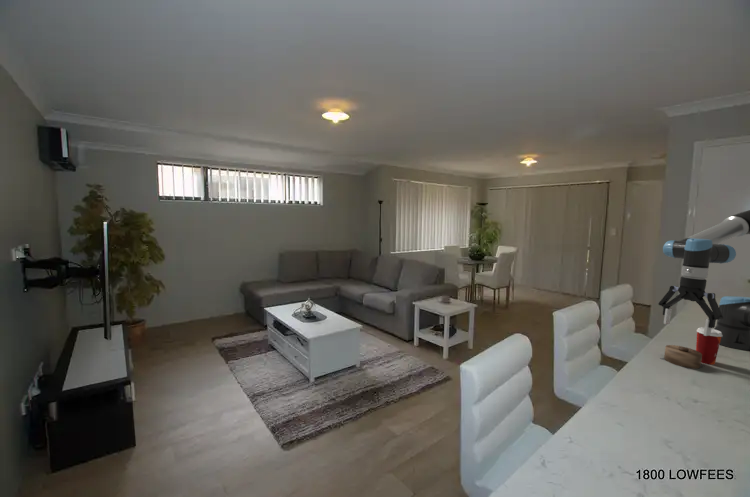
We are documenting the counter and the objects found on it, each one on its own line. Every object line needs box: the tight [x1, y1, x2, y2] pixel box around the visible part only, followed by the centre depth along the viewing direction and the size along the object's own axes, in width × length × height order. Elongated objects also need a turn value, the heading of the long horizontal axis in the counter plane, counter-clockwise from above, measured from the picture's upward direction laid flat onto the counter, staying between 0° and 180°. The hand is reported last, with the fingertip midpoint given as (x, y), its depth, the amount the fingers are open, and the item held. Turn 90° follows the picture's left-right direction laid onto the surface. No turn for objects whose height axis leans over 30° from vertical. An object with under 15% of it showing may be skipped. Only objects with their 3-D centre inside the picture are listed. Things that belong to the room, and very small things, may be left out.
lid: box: [663, 344, 702, 369], centre depth 136 cm, size 11×11×6 cm
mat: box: [659, 357, 705, 370], centre depth 136 cm, size 10×10×1 cm
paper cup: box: [695, 326, 723, 365], centre depth 137 cm, size 8×8×14 cm
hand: (685, 329), depth 135 cm, fingers open, 13 cm apart
